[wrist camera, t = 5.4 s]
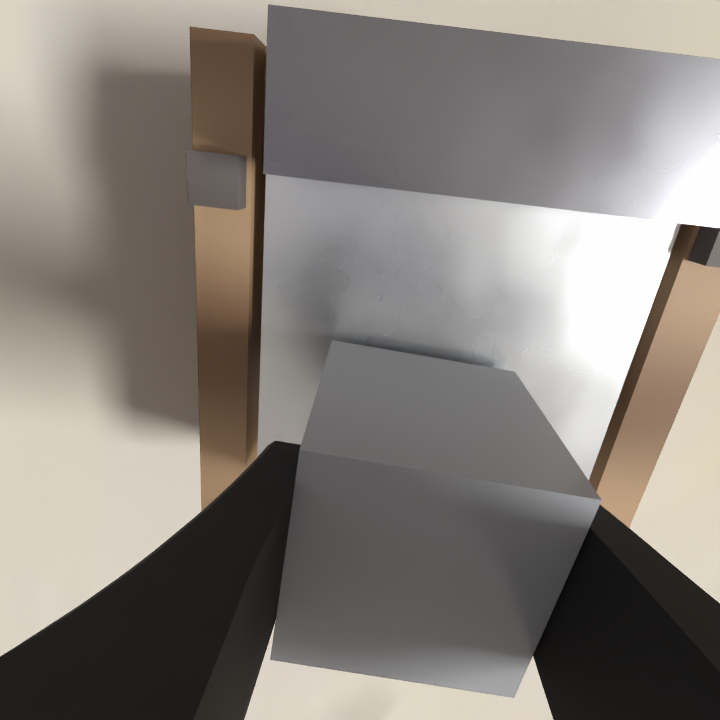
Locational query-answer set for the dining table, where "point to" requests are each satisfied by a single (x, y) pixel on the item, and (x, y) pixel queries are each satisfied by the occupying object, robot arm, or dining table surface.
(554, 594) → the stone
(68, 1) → the dining table surface
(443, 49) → the trapdoor
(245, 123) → the frame
